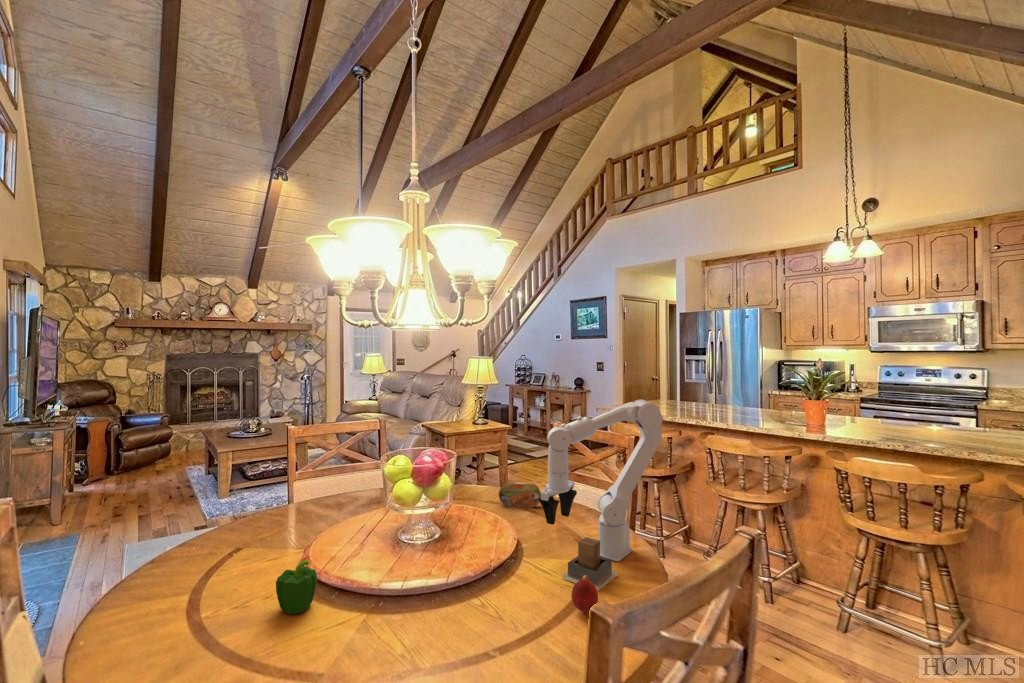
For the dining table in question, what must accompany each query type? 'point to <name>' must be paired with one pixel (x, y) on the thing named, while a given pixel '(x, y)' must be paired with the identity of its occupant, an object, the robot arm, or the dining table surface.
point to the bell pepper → (296, 588)
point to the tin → (519, 495)
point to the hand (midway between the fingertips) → (558, 519)
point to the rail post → (589, 552)
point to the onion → (584, 594)
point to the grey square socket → (591, 572)
